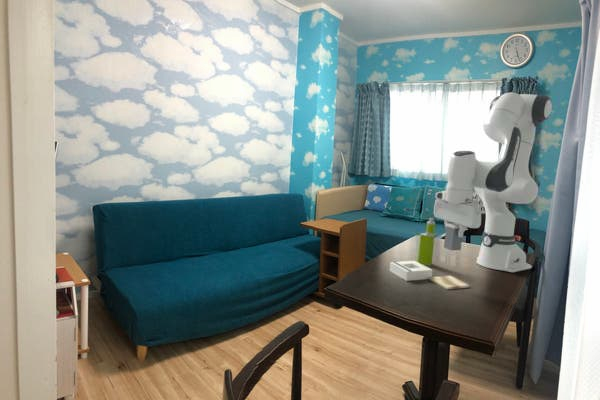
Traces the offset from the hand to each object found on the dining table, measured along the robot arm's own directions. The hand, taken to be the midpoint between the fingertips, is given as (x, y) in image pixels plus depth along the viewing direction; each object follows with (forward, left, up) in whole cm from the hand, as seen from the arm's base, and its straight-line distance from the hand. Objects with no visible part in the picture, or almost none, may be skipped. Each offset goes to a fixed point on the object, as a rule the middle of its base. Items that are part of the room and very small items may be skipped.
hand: (453, 234), depth 136 cm
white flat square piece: (+9, -11, -18) cm, 23 cm away
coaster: (0, 0, -18) cm, 18 cm away
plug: (0, 0, -5) cm, 5 cm away
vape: (-6, -22, -18) cm, 29 cm away
